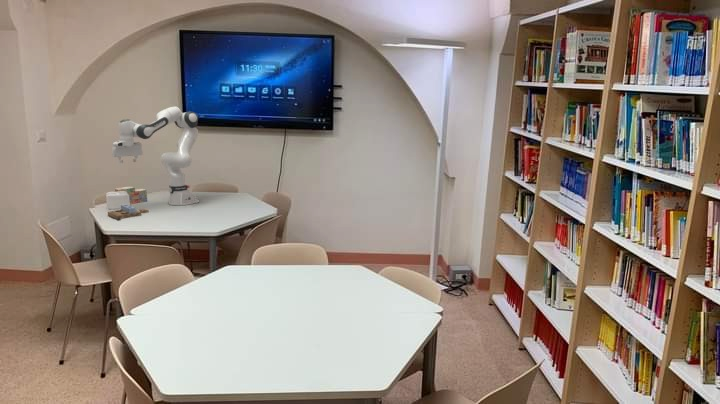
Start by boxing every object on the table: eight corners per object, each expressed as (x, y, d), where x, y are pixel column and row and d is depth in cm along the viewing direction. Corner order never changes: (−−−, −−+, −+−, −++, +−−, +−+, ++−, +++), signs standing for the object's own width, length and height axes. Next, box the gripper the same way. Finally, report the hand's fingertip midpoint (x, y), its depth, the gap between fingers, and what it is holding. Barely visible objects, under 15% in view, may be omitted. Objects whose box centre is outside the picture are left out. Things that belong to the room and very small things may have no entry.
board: (131, 212, 360) (131, 208, 359) (141, 216, 349) (141, 212, 348) (108, 215, 348) (107, 211, 348) (117, 220, 338) (117, 216, 337)
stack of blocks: (143, 200, 398) (142, 184, 396) (147, 201, 394) (146, 185, 392) (115, 204, 382) (114, 188, 380) (119, 205, 378) (118, 189, 376)
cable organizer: (129, 206, 377) (128, 190, 375) (130, 209, 368) (128, 193, 366) (107, 207, 371) (105, 192, 369) (107, 211, 362) (105, 195, 359)
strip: (127, 211, 356) (126, 204, 355) (135, 215, 347) (135, 207, 346) (121, 212, 353) (120, 204, 352) (129, 216, 344) (129, 208, 343)
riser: (145, 212, 361) (145, 208, 361) (148, 213, 358) (148, 209, 358) (139, 213, 358) (139, 209, 358) (142, 214, 355) (142, 210, 355)
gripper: (139, 141, 368) (140, 160, 371) (110, 143, 353) (111, 163, 356) (143, 142, 363) (144, 161, 366) (113, 144, 349) (115, 164, 352)
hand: (128, 162), depth 361 cm, fingers open, 8 cm apart
